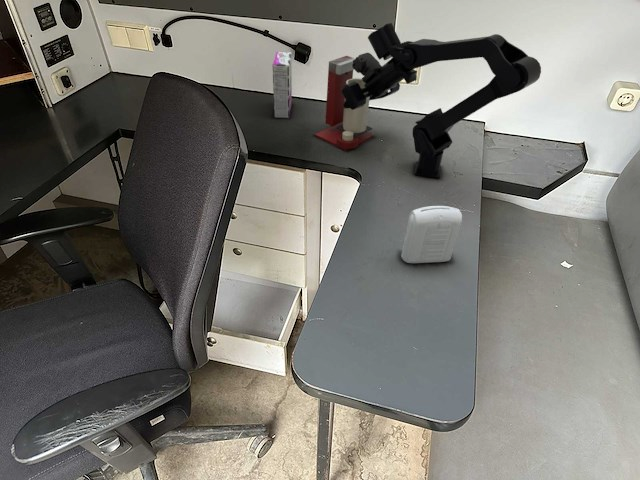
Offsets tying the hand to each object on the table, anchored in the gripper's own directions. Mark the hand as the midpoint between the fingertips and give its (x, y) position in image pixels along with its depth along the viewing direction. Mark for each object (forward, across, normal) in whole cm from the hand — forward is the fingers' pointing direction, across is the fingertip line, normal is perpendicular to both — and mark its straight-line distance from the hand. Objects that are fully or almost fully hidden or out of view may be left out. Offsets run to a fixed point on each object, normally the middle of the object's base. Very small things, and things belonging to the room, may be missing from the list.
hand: (352, 103), depth 131 cm
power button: (+3, +6, +8) cm, 10 cm away
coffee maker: (+7, +2, +6) cm, 10 cm away
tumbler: (+4, 0, +6) cm, 7 cm away
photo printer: (-26, +29, +40) cm, 56 cm away
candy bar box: (+24, +4, -11) cm, 27 cm away
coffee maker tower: (+6, 0, +5) cm, 7 cm away
